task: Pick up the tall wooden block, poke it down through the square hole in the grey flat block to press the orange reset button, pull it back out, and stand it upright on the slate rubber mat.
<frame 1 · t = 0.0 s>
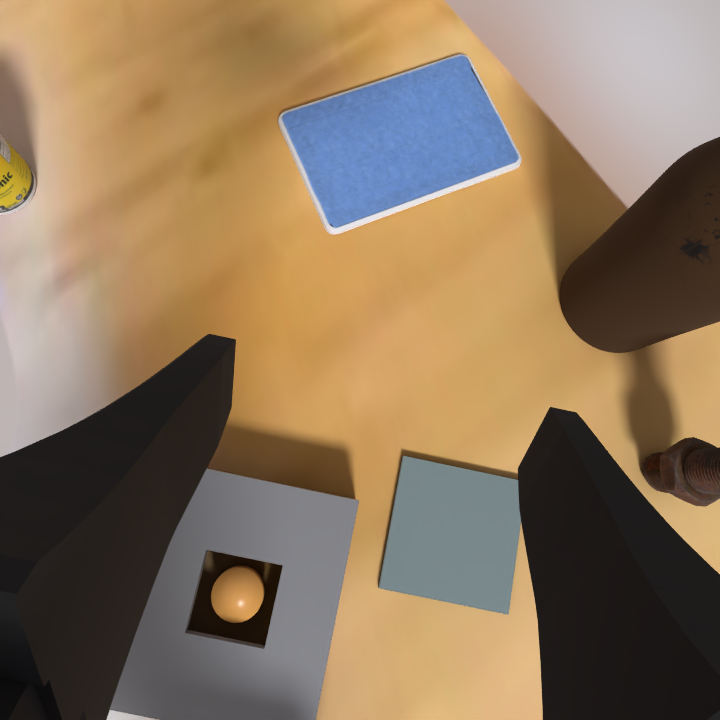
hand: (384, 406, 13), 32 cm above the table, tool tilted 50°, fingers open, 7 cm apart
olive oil: (611, 301, 49), on the table
mat: (453, 532, 44), on the table
grey flat block: (242, 588, 42), on the table
bolt: (657, 472, 46), on the table
supplement bottle: (6, 189, 47), on the table
reset button: (238, 593, 40), point 2 cm above the table, slide at 0.0 cm
tablet computer: (399, 146, 51), on the table
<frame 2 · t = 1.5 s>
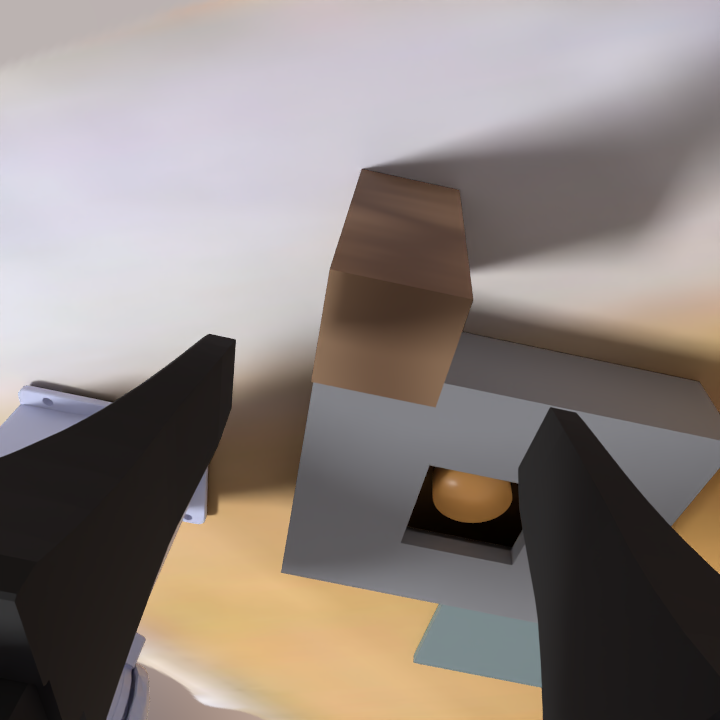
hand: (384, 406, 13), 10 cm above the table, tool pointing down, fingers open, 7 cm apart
tall wooden block: (399, 225, 21), on the table
mat: (505, 633, 37), on the table
grey flat block: (468, 456, 28), on the table
reset button: (471, 487, 26), point 2 cm above the table, slide at 0.0 cm
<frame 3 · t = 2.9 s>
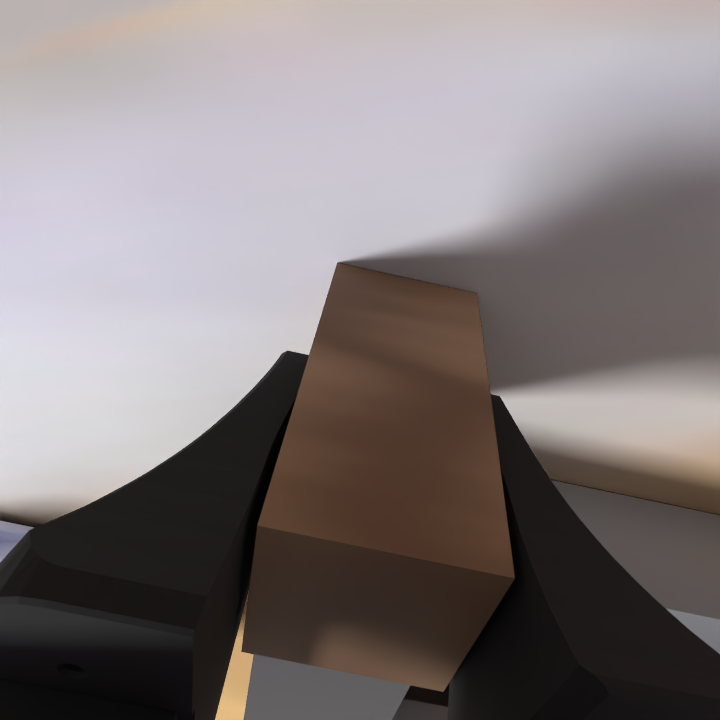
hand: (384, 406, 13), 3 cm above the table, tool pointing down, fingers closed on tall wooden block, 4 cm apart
tall wooden block: (391, 336, 15), on the table, touching gripper
grey flat block: (480, 597, 22), on the table
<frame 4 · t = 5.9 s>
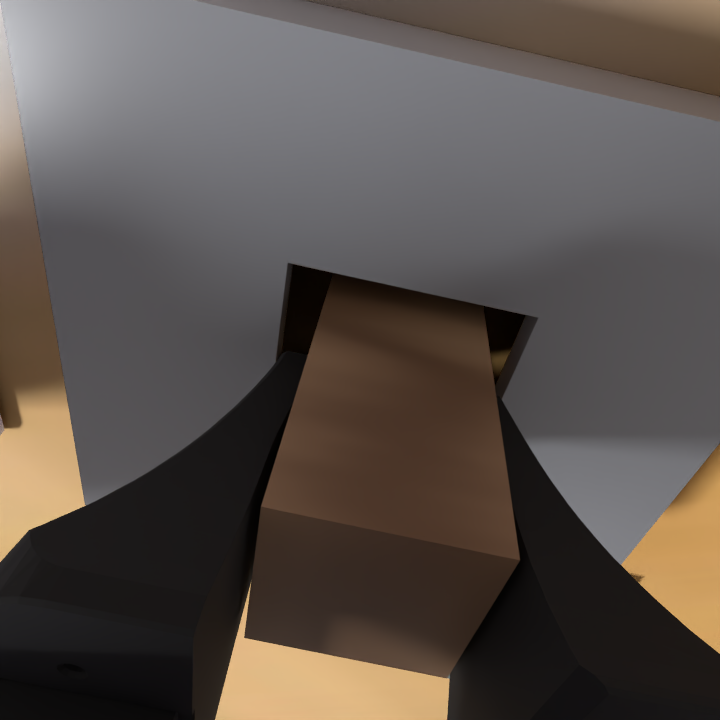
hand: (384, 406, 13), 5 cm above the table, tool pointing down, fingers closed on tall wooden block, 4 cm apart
tall wooden block: (394, 326, 15), point 1 cm above the table, touching gripper, reset button
grey flat block: (394, 306, 16), on the table
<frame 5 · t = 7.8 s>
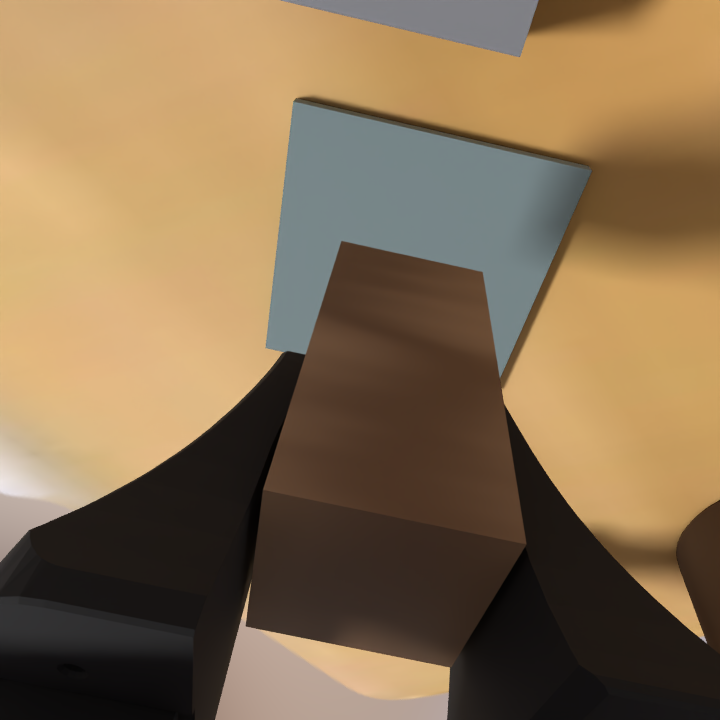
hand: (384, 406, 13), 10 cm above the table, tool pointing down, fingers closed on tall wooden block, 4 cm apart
tall wooden block: (396, 316, 15), point 7 cm above the table, touching gripper
mat: (407, 265, 22), on the table
when the fingers open (4 cm above the table, at t = 9.4 s): tall wooden block stays where it is, resting on mat.
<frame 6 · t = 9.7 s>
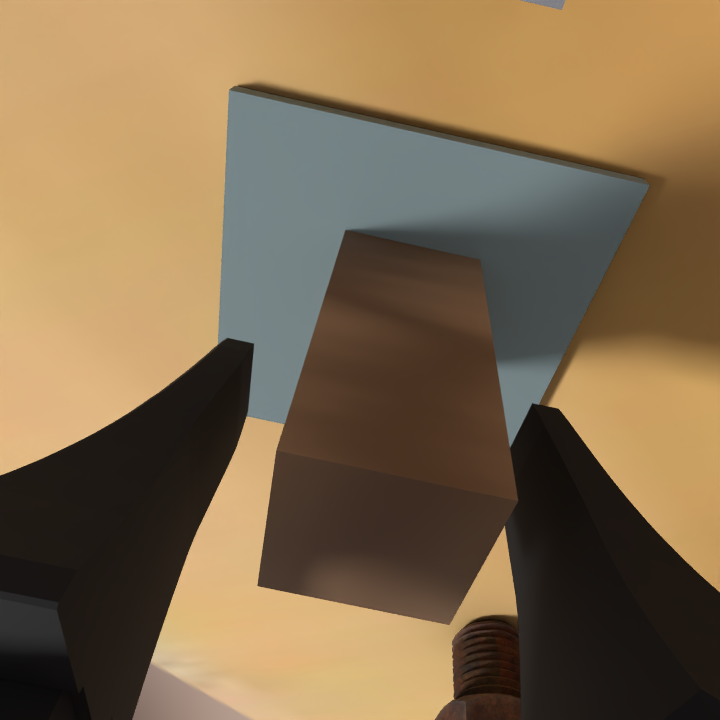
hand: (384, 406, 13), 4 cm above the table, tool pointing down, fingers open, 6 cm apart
tall wooden block: (397, 303, 16), resting on mat
mat: (394, 308, 16), on the table
bolt: (486, 629, 26), on the table
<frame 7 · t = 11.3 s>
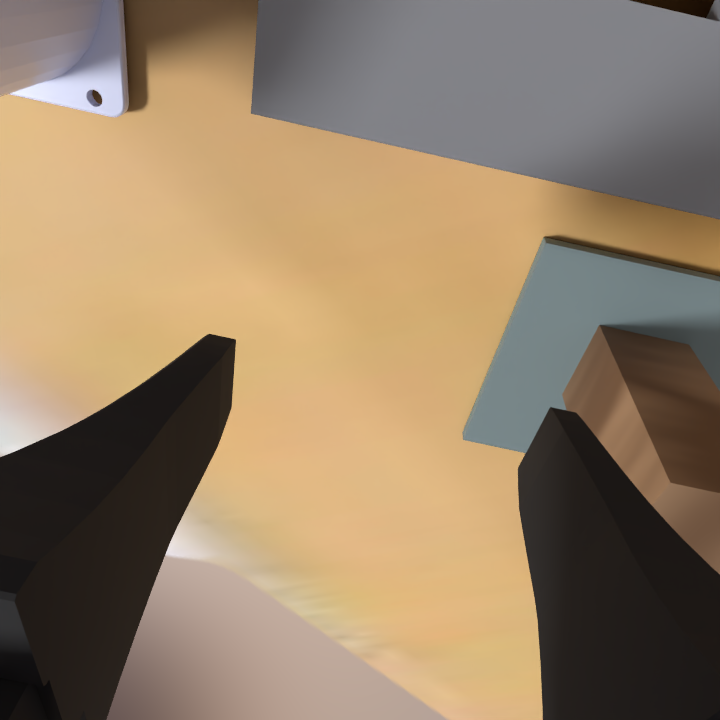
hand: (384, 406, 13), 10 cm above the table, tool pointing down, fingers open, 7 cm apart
tall wooden block: (622, 370, 23), resting on mat
mat: (614, 372, 23), on the table
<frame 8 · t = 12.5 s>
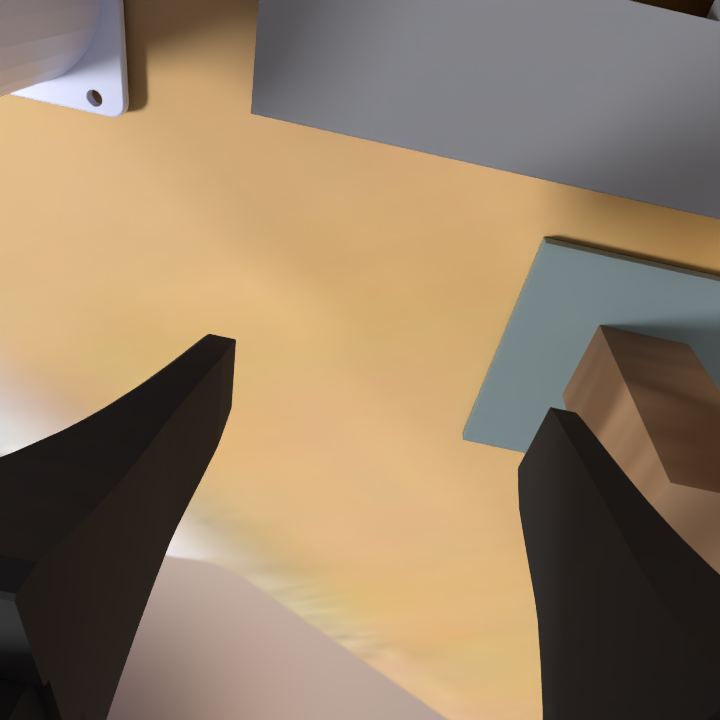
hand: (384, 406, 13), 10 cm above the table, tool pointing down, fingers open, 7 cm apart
tall wooden block: (622, 370, 23), resting on mat
mat: (614, 372, 23), on the table
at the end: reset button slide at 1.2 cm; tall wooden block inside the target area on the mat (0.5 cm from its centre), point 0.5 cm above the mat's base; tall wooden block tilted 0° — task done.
